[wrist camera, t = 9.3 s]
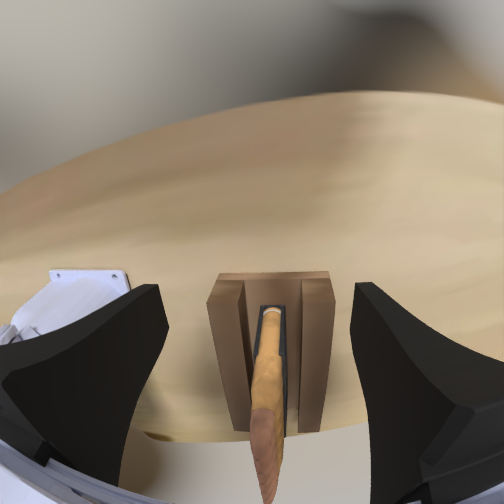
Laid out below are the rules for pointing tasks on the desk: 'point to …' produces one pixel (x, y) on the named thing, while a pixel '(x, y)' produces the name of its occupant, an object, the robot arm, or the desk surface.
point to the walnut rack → (297, 329)
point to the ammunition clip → (269, 397)
